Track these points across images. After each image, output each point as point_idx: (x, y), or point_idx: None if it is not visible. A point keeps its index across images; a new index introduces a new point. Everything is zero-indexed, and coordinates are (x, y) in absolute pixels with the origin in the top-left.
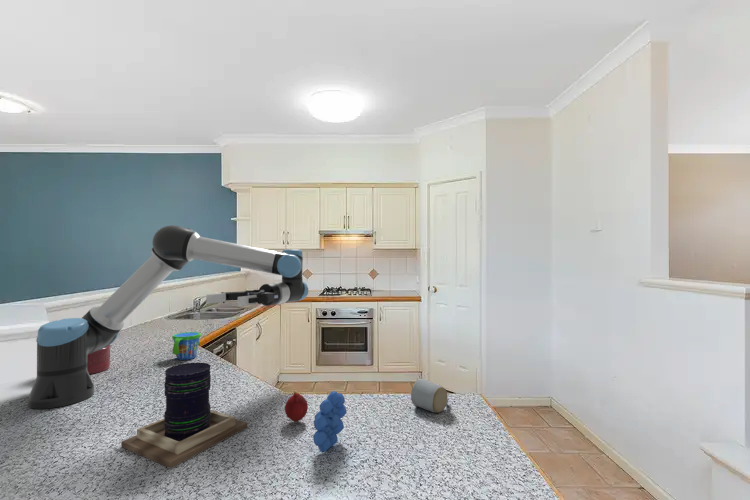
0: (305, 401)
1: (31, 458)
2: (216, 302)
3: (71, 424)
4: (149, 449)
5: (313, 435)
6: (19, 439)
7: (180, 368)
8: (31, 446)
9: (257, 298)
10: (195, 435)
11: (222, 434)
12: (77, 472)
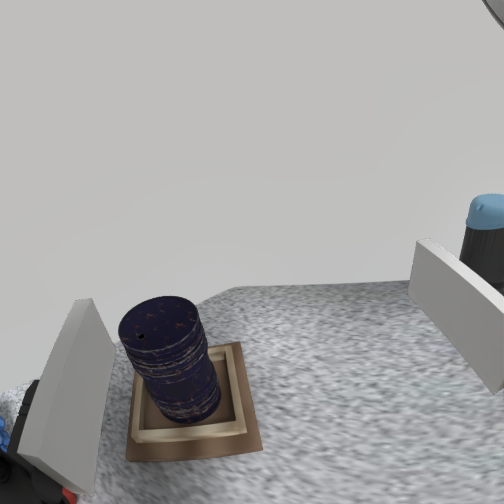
0: None
1: (291, 295)
2: (445, 334)
3: (367, 318)
4: None
5: (2, 421)
6: (353, 288)
7: (174, 315)
8: (324, 295)
9: (15, 442)
10: (139, 377)
11: (131, 416)
12: (220, 315)
